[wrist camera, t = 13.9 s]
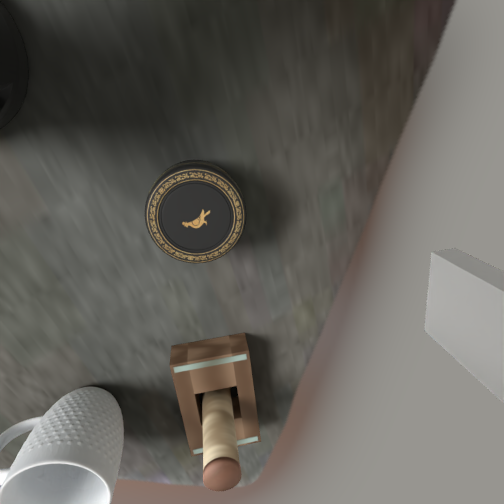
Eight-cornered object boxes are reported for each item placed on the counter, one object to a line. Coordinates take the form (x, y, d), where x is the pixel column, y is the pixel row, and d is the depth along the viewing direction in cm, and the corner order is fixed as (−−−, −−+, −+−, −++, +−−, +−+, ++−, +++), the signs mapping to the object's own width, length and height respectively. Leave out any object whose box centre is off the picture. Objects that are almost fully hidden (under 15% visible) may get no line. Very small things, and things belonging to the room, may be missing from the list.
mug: (23, 439, 48) (-36, 545, 36) (11, 374, 44) (-59, 469, 32) (134, 432, 51) (114, 529, 38) (131, 371, 47) (109, 457, 35)
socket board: (191, 432, 52) (191, 456, 48) (171, 345, 46) (169, 365, 43) (256, 419, 53) (261, 442, 49) (244, 332, 47) (248, 350, 44)
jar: (255, 192, 41) (268, 207, 34) (206, 256, 43) (208, 283, 36) (185, 138, 38) (182, 141, 31) (135, 210, 39) (122, 229, 32)
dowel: (204, 399, 50) (206, 494, 37) (199, 377, 49) (200, 468, 36) (231, 393, 51) (243, 486, 38) (227, 371, 49) (239, 460, 36)
